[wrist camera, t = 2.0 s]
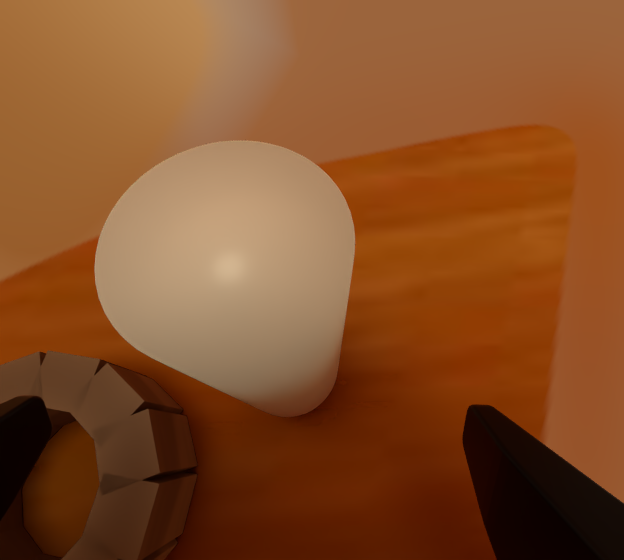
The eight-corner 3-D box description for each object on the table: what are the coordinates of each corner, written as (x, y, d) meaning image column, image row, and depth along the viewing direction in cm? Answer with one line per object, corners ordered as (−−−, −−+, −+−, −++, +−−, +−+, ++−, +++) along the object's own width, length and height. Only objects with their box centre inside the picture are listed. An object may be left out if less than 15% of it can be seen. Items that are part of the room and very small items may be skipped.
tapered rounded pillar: (349, 401, 17) (400, 309, 5) (267, 435, 17) (115, 418, 5) (318, 323, 19) (302, 114, 7) (242, 352, 18) (80, 182, 6)
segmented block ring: (219, 561, 15) (183, 600, 11) (-27, 668, 14) (-156, 750, 10) (170, 343, 18) (131, 318, 15) (-26, 414, 17) (-120, 407, 14)
